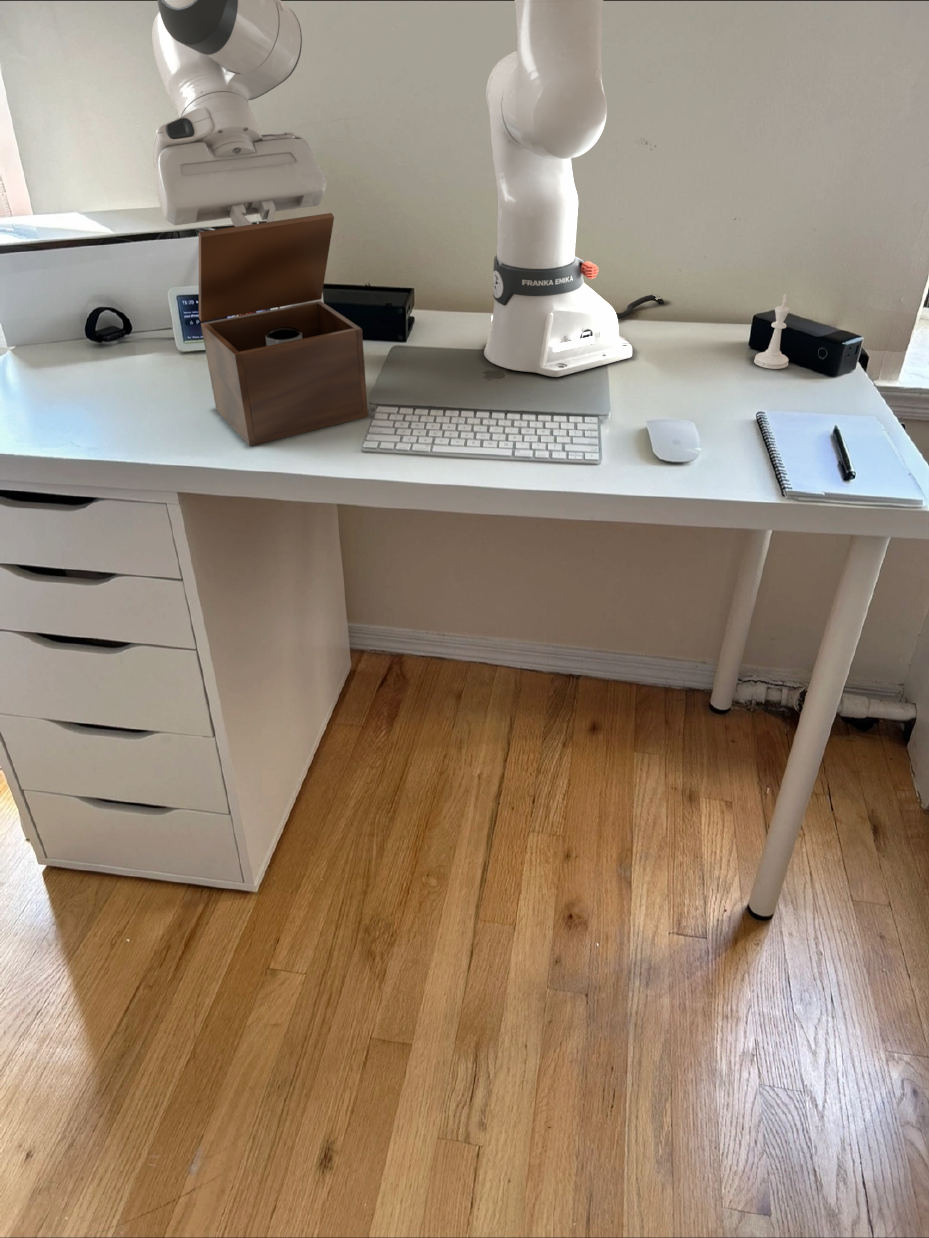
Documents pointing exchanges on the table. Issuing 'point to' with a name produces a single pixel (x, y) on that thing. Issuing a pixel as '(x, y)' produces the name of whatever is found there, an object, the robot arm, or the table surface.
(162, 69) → the robot arm
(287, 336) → the gray cylinder
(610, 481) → the table surface
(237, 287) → the box lid
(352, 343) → the storage box
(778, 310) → the chess piece
